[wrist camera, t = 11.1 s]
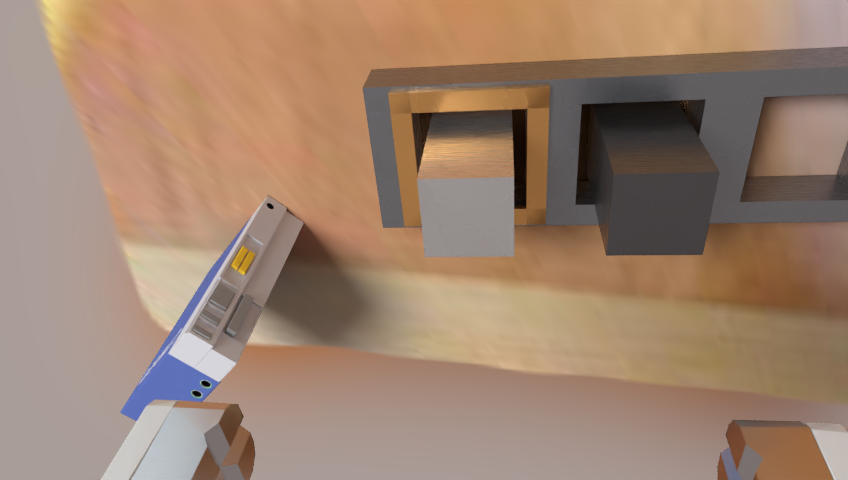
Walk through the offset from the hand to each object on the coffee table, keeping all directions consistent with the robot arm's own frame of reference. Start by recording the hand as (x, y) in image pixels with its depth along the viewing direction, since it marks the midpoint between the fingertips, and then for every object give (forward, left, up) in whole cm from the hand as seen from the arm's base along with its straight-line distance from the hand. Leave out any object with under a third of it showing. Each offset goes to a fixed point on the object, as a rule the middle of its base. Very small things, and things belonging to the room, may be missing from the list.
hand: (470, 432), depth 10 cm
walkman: (+15, +13, -24) cm, 31 cm away
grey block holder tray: (-7, +6, -24) cm, 25 cm away
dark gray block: (-7, +6, -24) cm, 25 cm away
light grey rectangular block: (+1, +6, -24) cm, 24 cm away
